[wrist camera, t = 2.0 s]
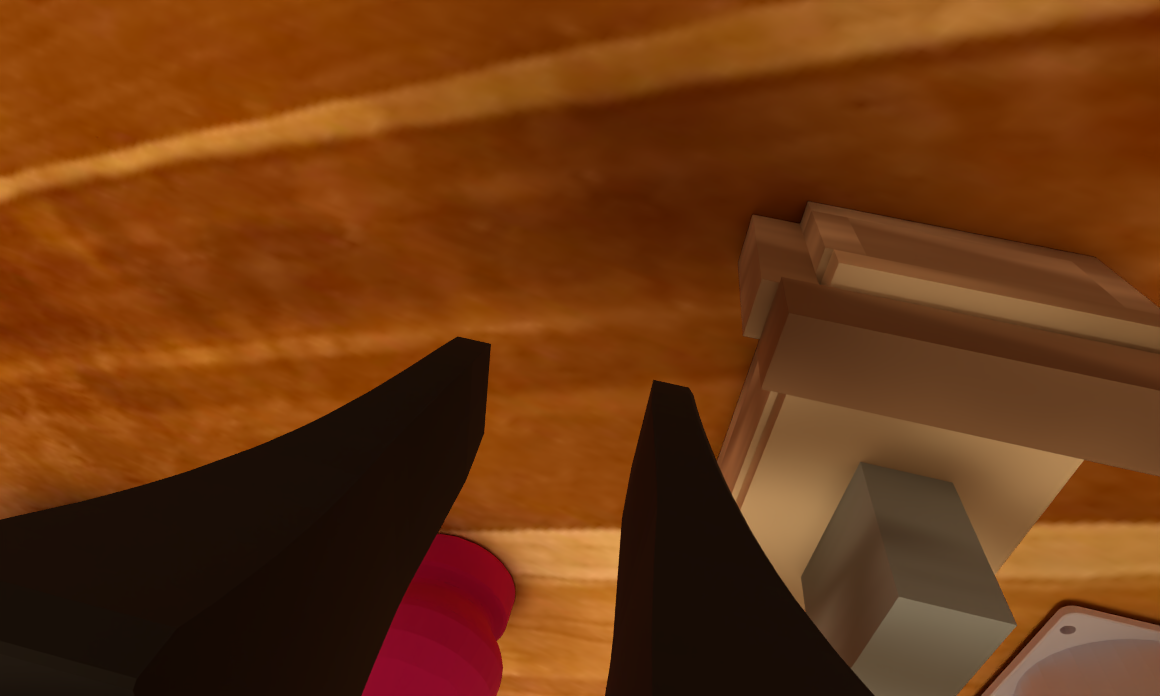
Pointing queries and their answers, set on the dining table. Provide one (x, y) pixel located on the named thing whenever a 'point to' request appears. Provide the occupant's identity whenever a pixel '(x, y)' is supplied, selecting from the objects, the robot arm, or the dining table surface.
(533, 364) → the dining table surface
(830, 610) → the lid
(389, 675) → the pepper mill
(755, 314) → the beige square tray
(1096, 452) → the rectangular bar
